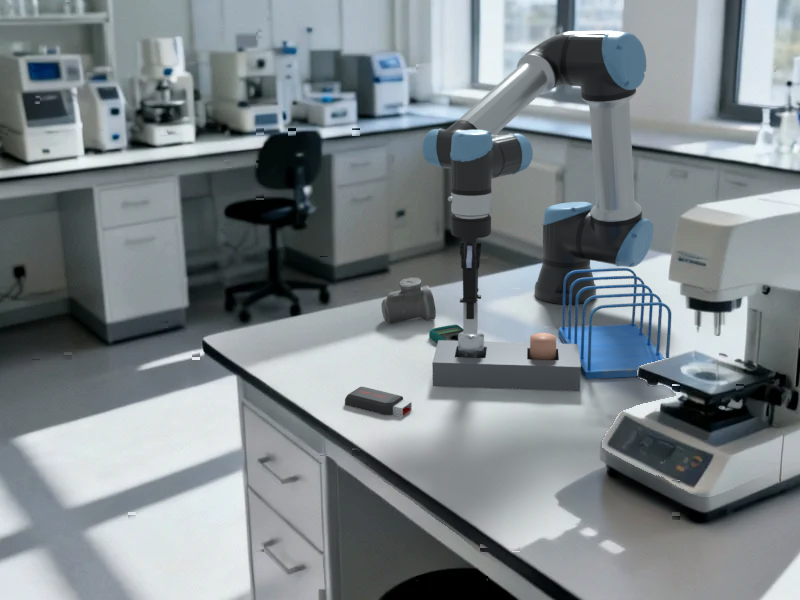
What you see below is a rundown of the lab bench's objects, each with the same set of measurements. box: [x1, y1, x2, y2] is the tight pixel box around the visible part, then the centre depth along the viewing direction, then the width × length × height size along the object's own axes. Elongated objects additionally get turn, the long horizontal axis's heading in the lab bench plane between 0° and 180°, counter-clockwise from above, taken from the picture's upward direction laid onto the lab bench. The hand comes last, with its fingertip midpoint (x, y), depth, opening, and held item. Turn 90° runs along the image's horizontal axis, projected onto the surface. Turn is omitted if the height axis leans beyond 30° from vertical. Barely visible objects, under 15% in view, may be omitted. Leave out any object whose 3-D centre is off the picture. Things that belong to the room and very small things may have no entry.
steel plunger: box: [457, 331, 485, 358], centre depth 181 cm, size 5×5×4 cm
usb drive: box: [344, 386, 413, 417], centre depth 170 cm, size 5×12×3 cm, turn 58°
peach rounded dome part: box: [529, 332, 557, 360], centre depth 179 cm, size 5×5×4 cm
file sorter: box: [558, 267, 672, 380], centre depth 190 cm, size 25×17×15 cm
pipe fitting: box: [381, 276, 437, 325], centre depth 213 cm, size 12×8×10 cm
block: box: [431, 340, 582, 392], centre depth 182 cm, size 28×12×5 cm, turn 82°
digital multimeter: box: [428, 324, 463, 345], centre depth 198 cm, size 7×15×3 cm, turn 24°
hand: (470, 332), depth 180 cm, fingers closed
